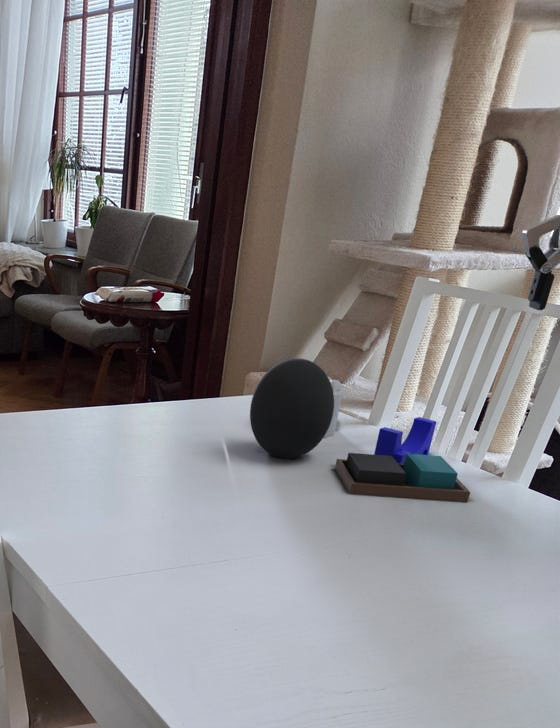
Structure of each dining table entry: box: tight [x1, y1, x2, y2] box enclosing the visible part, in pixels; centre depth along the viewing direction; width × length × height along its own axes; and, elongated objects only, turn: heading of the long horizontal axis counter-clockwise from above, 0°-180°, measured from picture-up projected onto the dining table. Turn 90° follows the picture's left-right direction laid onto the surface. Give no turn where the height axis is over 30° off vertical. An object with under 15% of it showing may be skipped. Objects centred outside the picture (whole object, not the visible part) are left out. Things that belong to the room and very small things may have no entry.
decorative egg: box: [249, 357, 334, 460], centre depth 130 cm, size 12×12×15 cm
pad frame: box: [334, 458, 471, 503], centre depth 123 cm, size 16×11×2 cm
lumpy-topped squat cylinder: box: [323, 375, 344, 439], centre depth 147 cm, size 10×13×9 cm
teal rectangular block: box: [403, 454, 458, 489], centre depth 122 cm, size 5×8×4 cm, turn 176°
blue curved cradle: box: [373, 416, 437, 464], centre depth 132 cm, size 12×4×6 cm, turn 133°
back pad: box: [346, 452, 406, 486], centre depth 123 cm, size 6×8×3 cm
